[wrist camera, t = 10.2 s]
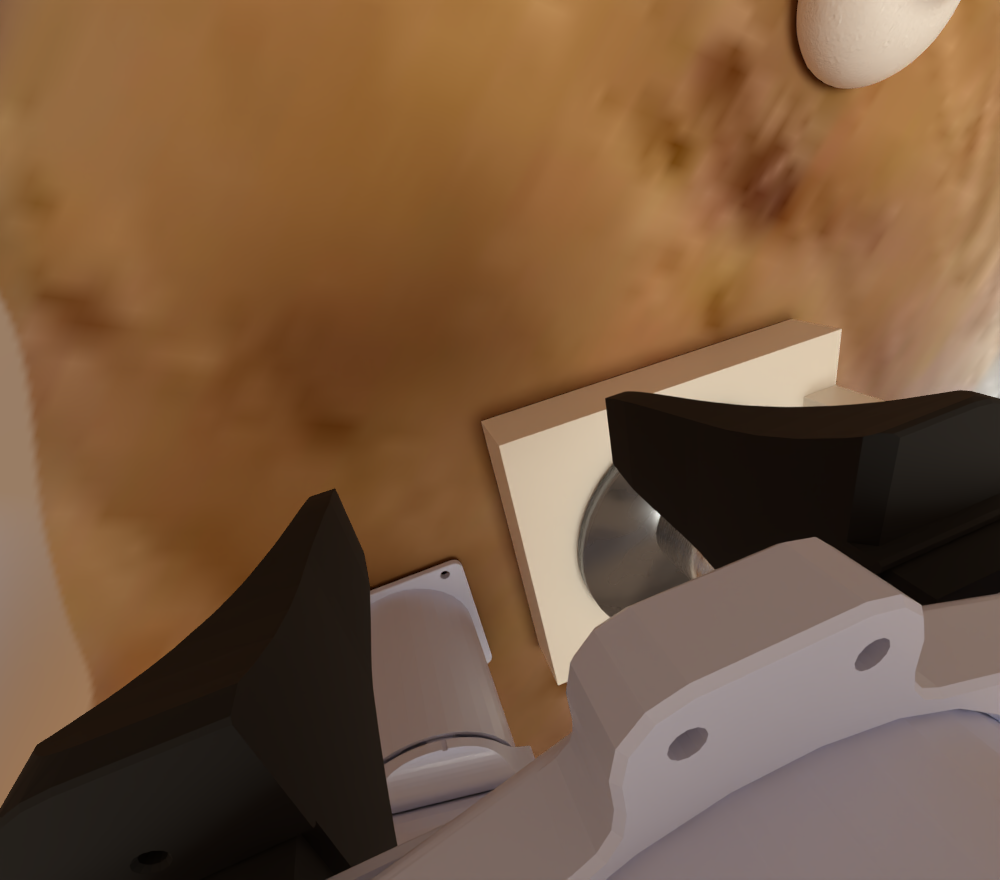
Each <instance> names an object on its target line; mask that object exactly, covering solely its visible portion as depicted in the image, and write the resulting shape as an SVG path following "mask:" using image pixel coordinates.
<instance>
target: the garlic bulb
mask: <svg viewBox="0 0 1000 880" xmlns="http://www.w3.org/2000/svg"><path fill="white" fill-rule="evenodd" d="M959 2H960V0H798V5H797V19H796V20H797V24H796V25H797V28H796V29H797V37H798V42H799V46H800V50H801V53H802V55H803V58H804V60H805V63H806V66H807V67H808V69H810V71H811V72H812V73H813V74H814V75H815V77H817V78H818V79H819V80H821V81H822V82H823V83H825V84H828V85H830V86H833V87H836V88H846V89H851V88H859V87H864V86H868V85H872V84H875V83H877V82H880V81H882V80H884V79H886V78H888V77H890V76H892V75H894V74H895V73H897V72H898V71H900V70H902V69H903V68H904V67H906V66H907V65H909V64H910V63H911V62H912V61H914V60H915V59H916V58H917V57H918V56H919V55H920V54H921V53H923V52H924V51H925V50H926V49H927V48H928V47H929V45H930V44H931V43H932V42H933V41H934V40H935V39H936V38H937V36H938V35H939V33H940V32H941V31H942V29H943V28H944V27H945V25H946V24H947V22H948V21H949V19H950V18H951V16H952V15H953V13H954V11H955V9H956V8H957V6H958V4H959Z"/></svg>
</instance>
